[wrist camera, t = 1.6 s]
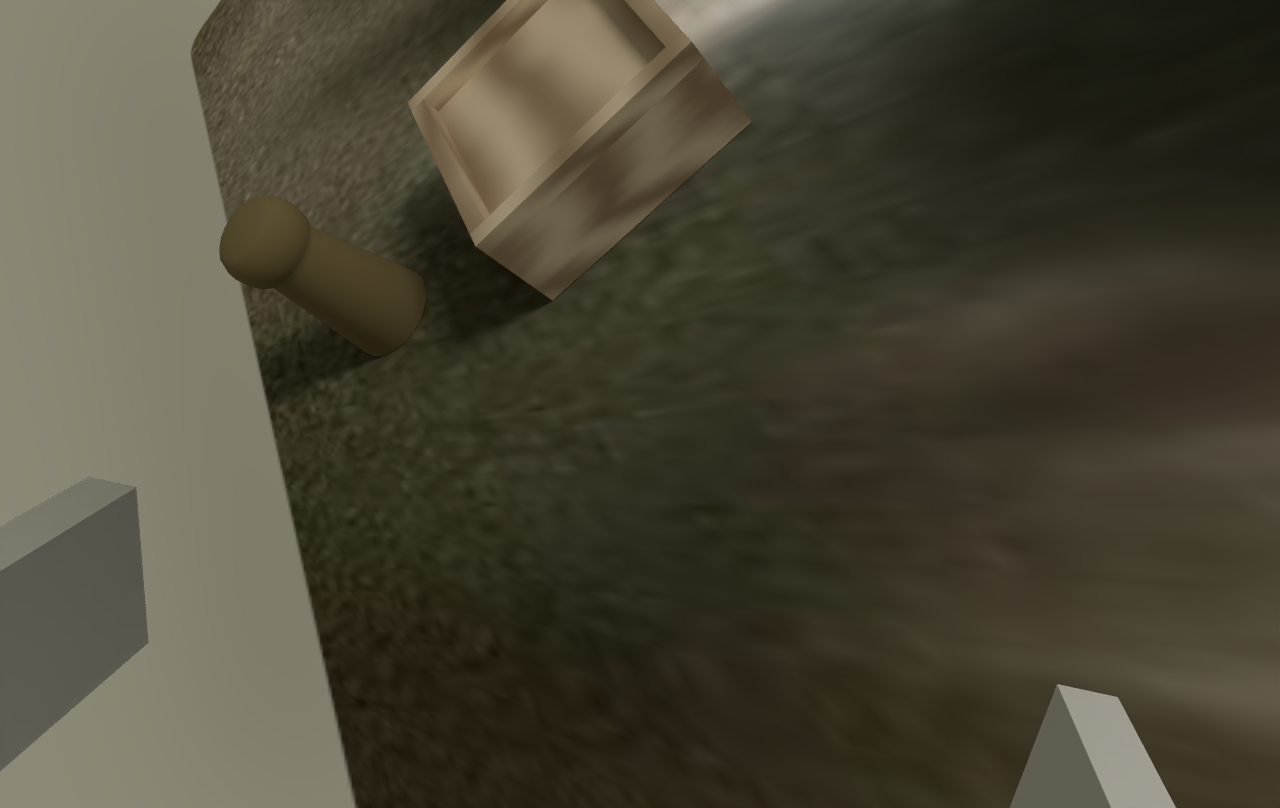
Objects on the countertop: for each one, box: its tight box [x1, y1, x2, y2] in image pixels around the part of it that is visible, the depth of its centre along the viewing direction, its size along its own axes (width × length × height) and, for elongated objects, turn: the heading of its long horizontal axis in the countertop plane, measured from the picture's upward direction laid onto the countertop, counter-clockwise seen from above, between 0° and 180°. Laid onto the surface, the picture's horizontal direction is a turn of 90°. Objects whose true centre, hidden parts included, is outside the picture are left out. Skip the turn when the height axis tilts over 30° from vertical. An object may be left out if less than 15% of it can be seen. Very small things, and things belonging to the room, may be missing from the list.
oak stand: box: [408, 0, 751, 301], centre depth 48 cm, size 14×14×6 cm
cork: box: [220, 195, 426, 357], centre depth 52 cm, size 6×6×11 cm
